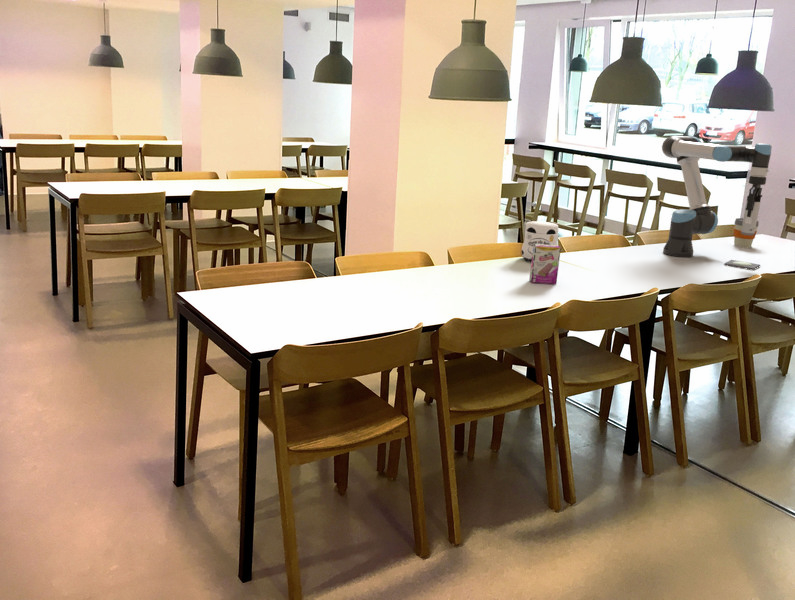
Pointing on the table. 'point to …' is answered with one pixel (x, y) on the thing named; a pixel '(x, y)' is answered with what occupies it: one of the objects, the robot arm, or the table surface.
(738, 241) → the reusable coffee cup
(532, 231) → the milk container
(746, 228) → the travel mug
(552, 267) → the candy bar box
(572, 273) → the table surface
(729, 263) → the pad
